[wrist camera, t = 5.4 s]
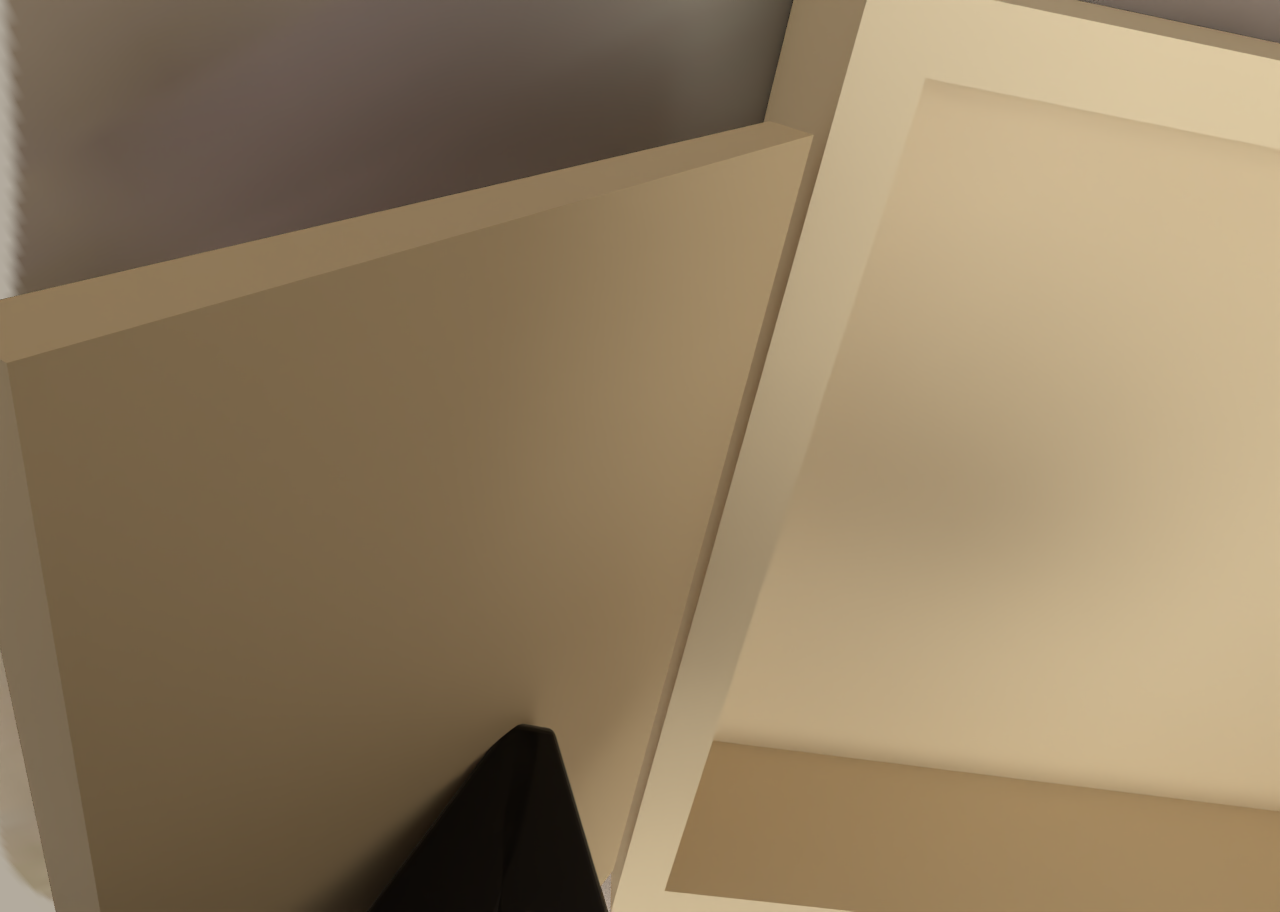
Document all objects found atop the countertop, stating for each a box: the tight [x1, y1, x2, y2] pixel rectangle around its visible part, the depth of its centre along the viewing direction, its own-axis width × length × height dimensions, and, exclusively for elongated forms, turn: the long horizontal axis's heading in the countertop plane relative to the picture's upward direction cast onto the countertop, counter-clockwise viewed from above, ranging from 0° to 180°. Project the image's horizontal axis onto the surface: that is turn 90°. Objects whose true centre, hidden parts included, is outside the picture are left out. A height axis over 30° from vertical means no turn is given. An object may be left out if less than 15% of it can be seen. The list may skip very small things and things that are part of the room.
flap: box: [0, 121, 814, 912], centre depth 10 cm, size 8×12×1 cm
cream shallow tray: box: [610, 0, 1280, 912], centre depth 16 cm, size 18×15×4 cm
